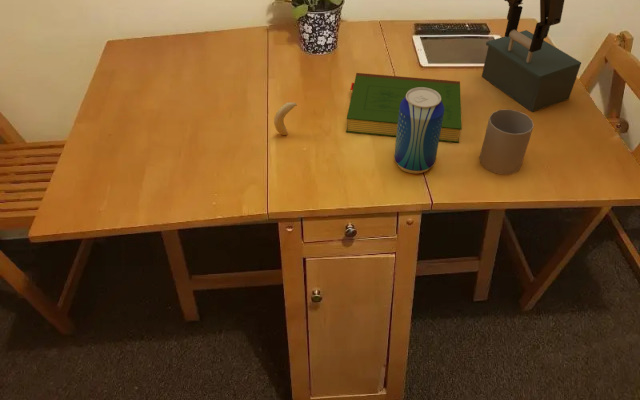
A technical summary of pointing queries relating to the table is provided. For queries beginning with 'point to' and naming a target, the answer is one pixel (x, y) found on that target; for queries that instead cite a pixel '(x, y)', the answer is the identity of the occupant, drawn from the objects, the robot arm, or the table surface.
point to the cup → (506, 141)
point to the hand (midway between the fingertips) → (522, 42)
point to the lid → (533, 54)
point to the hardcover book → (398, 104)
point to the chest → (527, 82)
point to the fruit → (280, 117)
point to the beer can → (418, 130)
